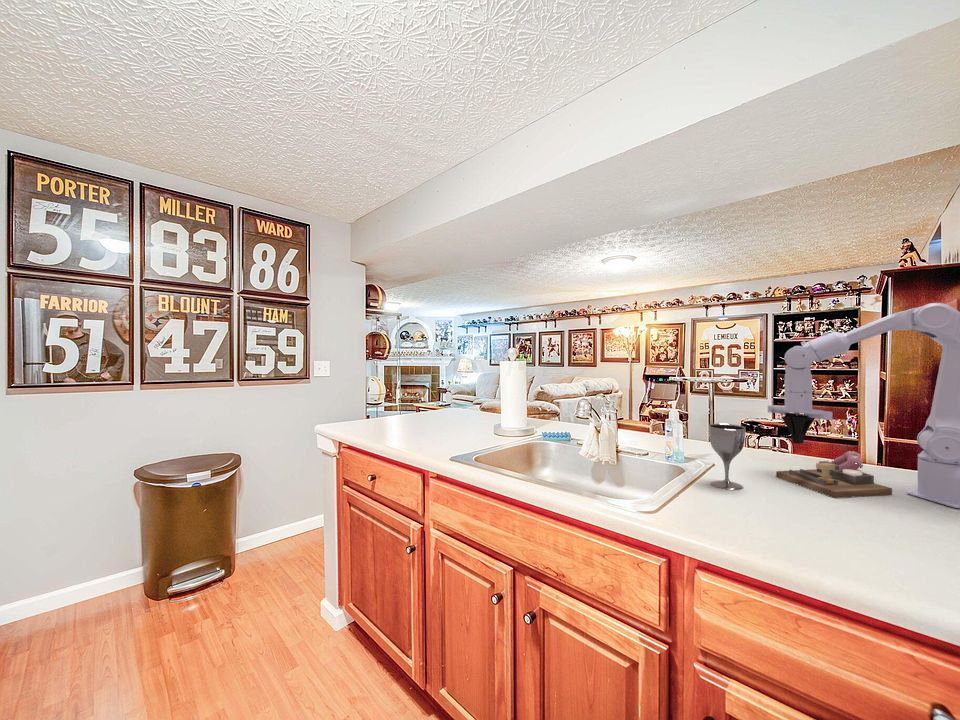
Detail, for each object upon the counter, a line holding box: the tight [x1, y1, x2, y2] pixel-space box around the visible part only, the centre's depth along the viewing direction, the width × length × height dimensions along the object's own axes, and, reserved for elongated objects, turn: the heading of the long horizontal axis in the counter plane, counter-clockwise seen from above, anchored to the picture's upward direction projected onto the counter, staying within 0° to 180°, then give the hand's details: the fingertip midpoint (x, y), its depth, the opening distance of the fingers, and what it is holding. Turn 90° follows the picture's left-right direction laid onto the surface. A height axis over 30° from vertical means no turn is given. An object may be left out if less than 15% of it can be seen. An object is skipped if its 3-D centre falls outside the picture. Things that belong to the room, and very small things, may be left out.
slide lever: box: [815, 462, 835, 484], centre depth 99 cm, size 2×3×4 cm
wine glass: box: [708, 423, 746, 491], centre depth 103 cm, size 8×8×15 cm
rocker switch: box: [818, 460, 839, 470], centre depth 107 cm, size 3×2×1 cm
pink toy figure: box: [830, 450, 864, 471], centre depth 113 cm, size 10×5×7 cm, turn 144°
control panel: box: [775, 468, 893, 499], centre depth 102 cm, size 16×15×4 cm
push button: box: [843, 469, 862, 476], centre depth 100 cm, size 4×4×2 cm
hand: (798, 443), depth 107 cm, fingers closed
